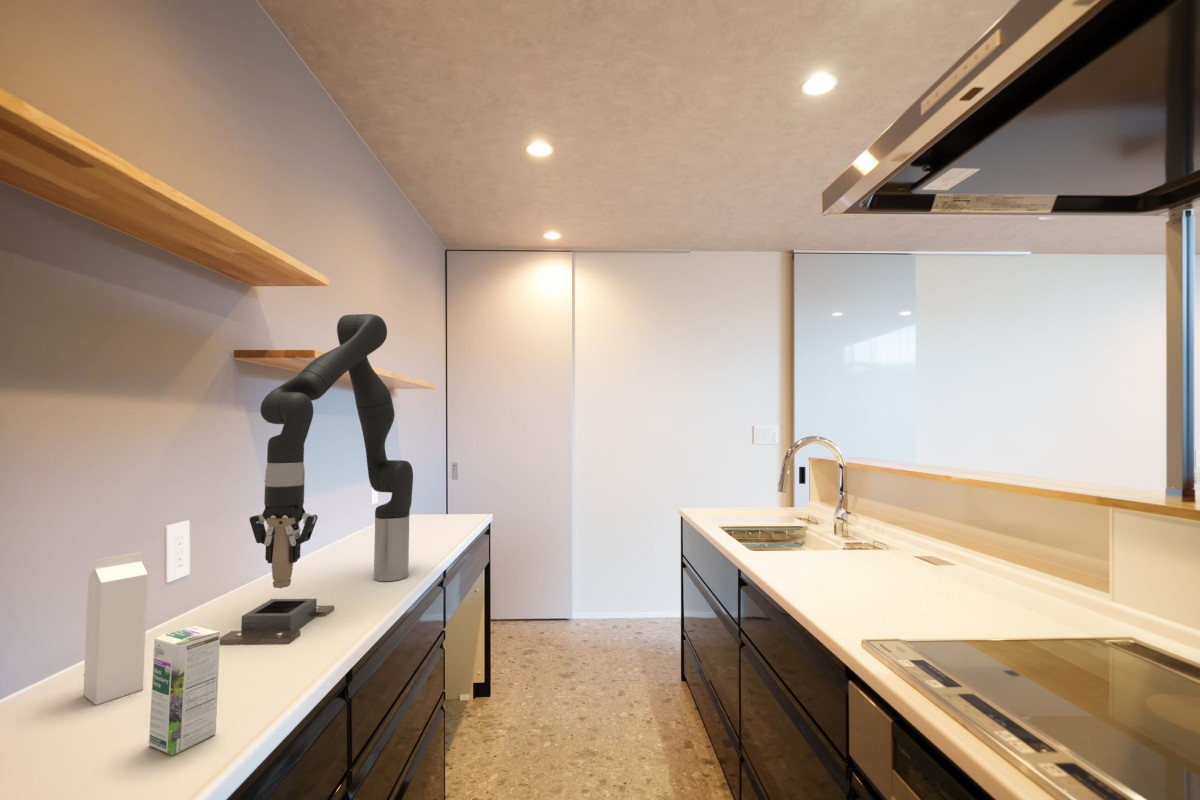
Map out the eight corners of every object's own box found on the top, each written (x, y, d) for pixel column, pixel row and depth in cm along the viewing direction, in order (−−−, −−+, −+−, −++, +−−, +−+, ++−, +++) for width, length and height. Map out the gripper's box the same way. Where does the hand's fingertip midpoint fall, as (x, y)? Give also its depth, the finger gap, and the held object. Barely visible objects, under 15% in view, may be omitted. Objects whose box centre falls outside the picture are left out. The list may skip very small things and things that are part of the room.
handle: (295, 588, 117) (297, 518, 117) (261, 591, 115) (263, 519, 116) (301, 582, 121) (303, 514, 122) (268, 584, 120) (270, 515, 120)
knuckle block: (273, 610, 128) (274, 592, 128) (334, 609, 128) (334, 592, 128) (216, 644, 108) (217, 624, 108) (288, 644, 108) (289, 623, 108)
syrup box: (146, 746, 74) (150, 637, 74) (193, 724, 79) (197, 623, 80) (171, 757, 71) (175, 644, 72) (218, 733, 77) (222, 629, 78)
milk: (82, 695, 88) (87, 557, 89) (130, 680, 93) (134, 549, 94) (95, 706, 84) (101, 562, 85) (144, 689, 89) (148, 554, 90)
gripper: (326, 481, 123) (323, 558, 123) (261, 481, 123) (259, 558, 122) (309, 485, 116) (307, 566, 115) (241, 485, 115) (238, 567, 115)
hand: (282, 562), depth 119 cm, fingers closed on handle, 4 cm apart
